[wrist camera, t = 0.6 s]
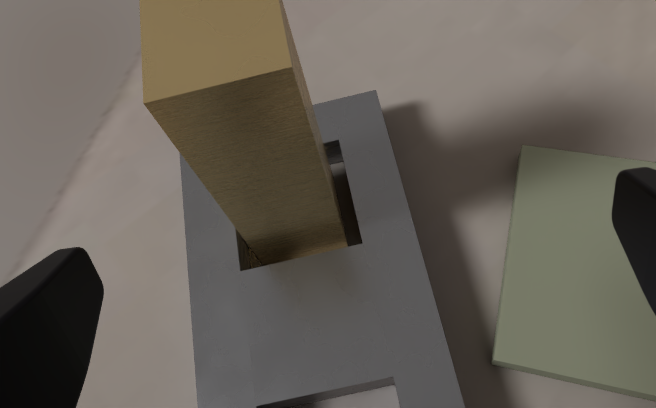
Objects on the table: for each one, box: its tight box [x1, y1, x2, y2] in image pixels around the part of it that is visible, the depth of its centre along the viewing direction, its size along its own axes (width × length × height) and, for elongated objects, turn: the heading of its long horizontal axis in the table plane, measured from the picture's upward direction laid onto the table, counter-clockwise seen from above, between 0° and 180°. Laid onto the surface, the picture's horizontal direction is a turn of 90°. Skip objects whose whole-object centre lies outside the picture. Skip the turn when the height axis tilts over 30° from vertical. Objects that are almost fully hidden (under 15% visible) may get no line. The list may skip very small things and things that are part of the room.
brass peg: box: [140, 0, 348, 266], centre depth 21 cm, size 4×4×13 cm
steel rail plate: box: [180, 90, 465, 408], centre depth 24 cm, size 21×10×2 cm, turn 11°
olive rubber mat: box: [491, 145, 656, 401], centre depth 23 cm, size 10×10×1 cm
